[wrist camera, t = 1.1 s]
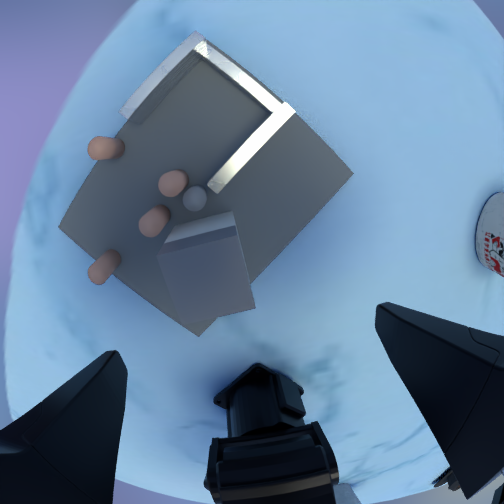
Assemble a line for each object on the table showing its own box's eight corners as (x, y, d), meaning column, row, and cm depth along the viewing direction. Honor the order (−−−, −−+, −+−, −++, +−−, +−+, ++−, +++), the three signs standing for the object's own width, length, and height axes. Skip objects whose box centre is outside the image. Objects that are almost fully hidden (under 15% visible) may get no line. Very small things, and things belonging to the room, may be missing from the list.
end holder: (218, 188, 18) (217, 194, 16) (133, 117, 16) (118, 111, 13) (287, 114, 17) (299, 108, 14) (202, 45, 15) (199, 27, 12)
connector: (245, 265, 20) (255, 308, 15) (191, 278, 20) (182, 324, 15) (232, 210, 19) (237, 235, 13) (174, 225, 19) (156, 255, 13)
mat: (199, 332, 22) (198, 336, 22) (61, 225, 18) (58, 227, 18) (350, 173, 19) (353, 173, 19) (205, 42, 15) (205, 38, 15)
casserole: (443, 480, 57) (451, 495, 49) (422, 486, 52) (431, 504, 44) (495, 434, 51) (506, 449, 43) (484, 434, 46) (497, 452, 38)
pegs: (197, 331, 22) (195, 355, 19) (58, 222, 18) (38, 233, 15) (276, 249, 20) (286, 265, 17) (124, 121, 16) (108, 116, 13)
